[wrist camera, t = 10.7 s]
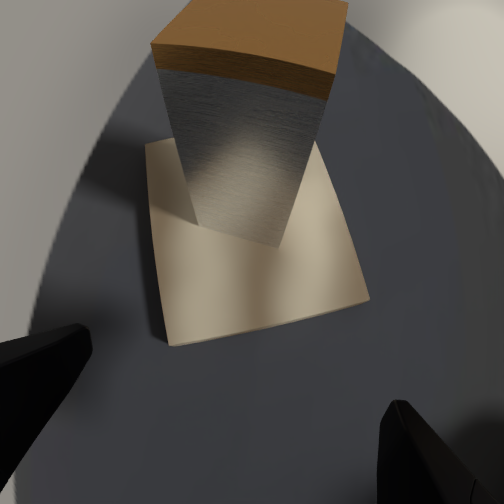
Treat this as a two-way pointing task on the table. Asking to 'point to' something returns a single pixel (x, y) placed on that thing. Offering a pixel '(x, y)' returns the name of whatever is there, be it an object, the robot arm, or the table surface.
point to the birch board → (247, 259)
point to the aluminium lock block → (248, 104)
